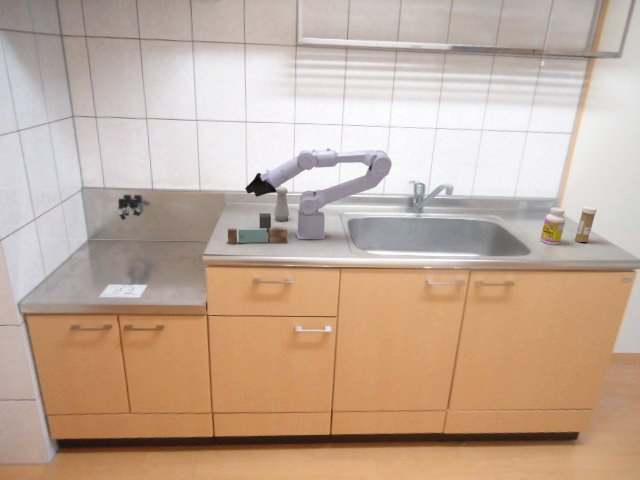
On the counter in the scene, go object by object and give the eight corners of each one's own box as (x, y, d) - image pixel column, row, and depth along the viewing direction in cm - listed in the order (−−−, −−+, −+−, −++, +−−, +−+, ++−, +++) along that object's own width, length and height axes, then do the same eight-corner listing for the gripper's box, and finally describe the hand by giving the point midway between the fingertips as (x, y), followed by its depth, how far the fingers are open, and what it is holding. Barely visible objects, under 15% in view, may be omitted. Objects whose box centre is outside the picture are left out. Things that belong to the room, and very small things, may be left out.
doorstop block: (270, 228, 169) (270, 213, 167) (270, 232, 165) (270, 216, 163) (259, 228, 168) (259, 213, 166) (259, 232, 165) (259, 216, 162)
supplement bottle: (535, 239, 170) (543, 207, 166) (549, 238, 173) (557, 205, 168) (549, 246, 165) (558, 212, 160) (563, 244, 167) (572, 211, 162)
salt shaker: (290, 217, 181) (290, 186, 176) (287, 222, 176) (288, 190, 171) (275, 216, 182) (276, 185, 177) (272, 221, 176) (273, 189, 172)
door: (266, 241, 156) (266, 228, 154) (266, 243, 154) (266, 230, 153) (238, 241, 155) (238, 228, 153) (238, 243, 153) (238, 230, 151)
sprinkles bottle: (587, 244, 168) (597, 210, 163) (573, 241, 170) (583, 207, 165) (587, 240, 172) (597, 207, 167) (574, 238, 174) (583, 204, 169)
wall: (286, 241, 158) (286, 226, 156) (287, 243, 156) (287, 228, 154) (228, 242, 154) (227, 227, 152) (228, 244, 153) (227, 229, 151)
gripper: (285, 167, 163) (254, 186, 165) (271, 158, 149) (237, 178, 151) (294, 184, 162) (262, 202, 164) (281, 176, 148) (246, 197, 150)
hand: (251, 192), depth 158 cm, fingers open, 7 cm apart
